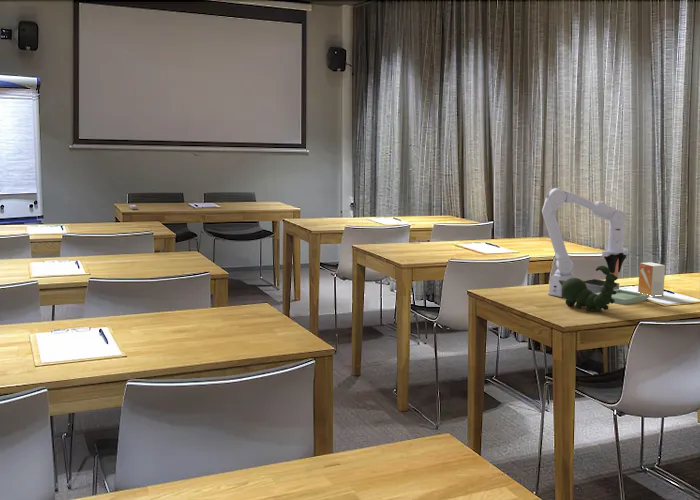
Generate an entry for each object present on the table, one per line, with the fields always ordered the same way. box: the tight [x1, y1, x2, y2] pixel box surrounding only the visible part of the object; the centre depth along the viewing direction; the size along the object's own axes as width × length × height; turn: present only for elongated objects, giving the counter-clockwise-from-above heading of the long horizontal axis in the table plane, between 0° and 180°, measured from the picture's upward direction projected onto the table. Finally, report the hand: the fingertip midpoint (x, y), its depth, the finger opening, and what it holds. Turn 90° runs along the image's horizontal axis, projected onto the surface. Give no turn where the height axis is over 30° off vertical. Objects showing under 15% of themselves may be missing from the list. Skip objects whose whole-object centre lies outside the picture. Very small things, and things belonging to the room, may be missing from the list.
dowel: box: [612, 259, 619, 280], centre depth 297 cm, size 3×3×8 cm
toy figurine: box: [559, 265, 618, 312], centre depth 275 cm, size 9×19×25 cm
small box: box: [637, 261, 666, 296], centre depth 300 cm, size 8×6×13 cm
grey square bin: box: [582, 278, 620, 294], centre depth 309 cm, size 13×13×4 cm
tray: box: [595, 288, 650, 306], centre depth 293 cm, size 16×14×2 cm
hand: (614, 272), depth 297 cm, fingers closed on dowel, 3 cm apart
